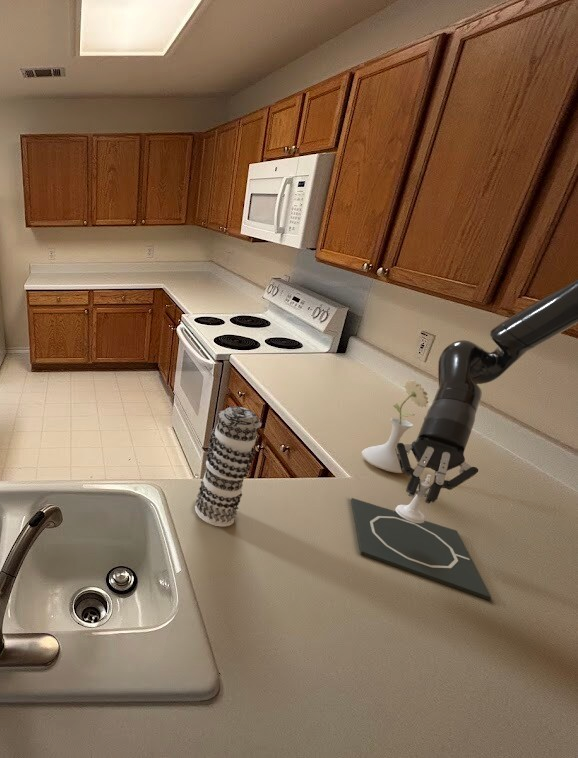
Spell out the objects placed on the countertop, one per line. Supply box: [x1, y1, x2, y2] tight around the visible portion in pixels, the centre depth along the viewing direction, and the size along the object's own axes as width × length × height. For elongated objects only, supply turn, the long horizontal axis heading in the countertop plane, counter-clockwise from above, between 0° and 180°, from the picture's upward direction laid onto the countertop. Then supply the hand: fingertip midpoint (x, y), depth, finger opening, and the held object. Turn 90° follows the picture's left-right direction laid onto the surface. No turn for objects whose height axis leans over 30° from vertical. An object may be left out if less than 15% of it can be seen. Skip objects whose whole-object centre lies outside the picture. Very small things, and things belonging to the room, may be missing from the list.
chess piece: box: [394, 474, 432, 523], centre depth 83 cm, size 5×5×10 cm
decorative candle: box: [194, 406, 263, 528], centre depth 86 cm, size 9×9×25 cm
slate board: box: [350, 497, 492, 601], centre depth 86 cm, size 20×20×1 cm
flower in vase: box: [361, 379, 429, 474], centre depth 112 cm, size 13×11×25 cm
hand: (419, 498), depth 82 cm, fingers closed on chess piece
